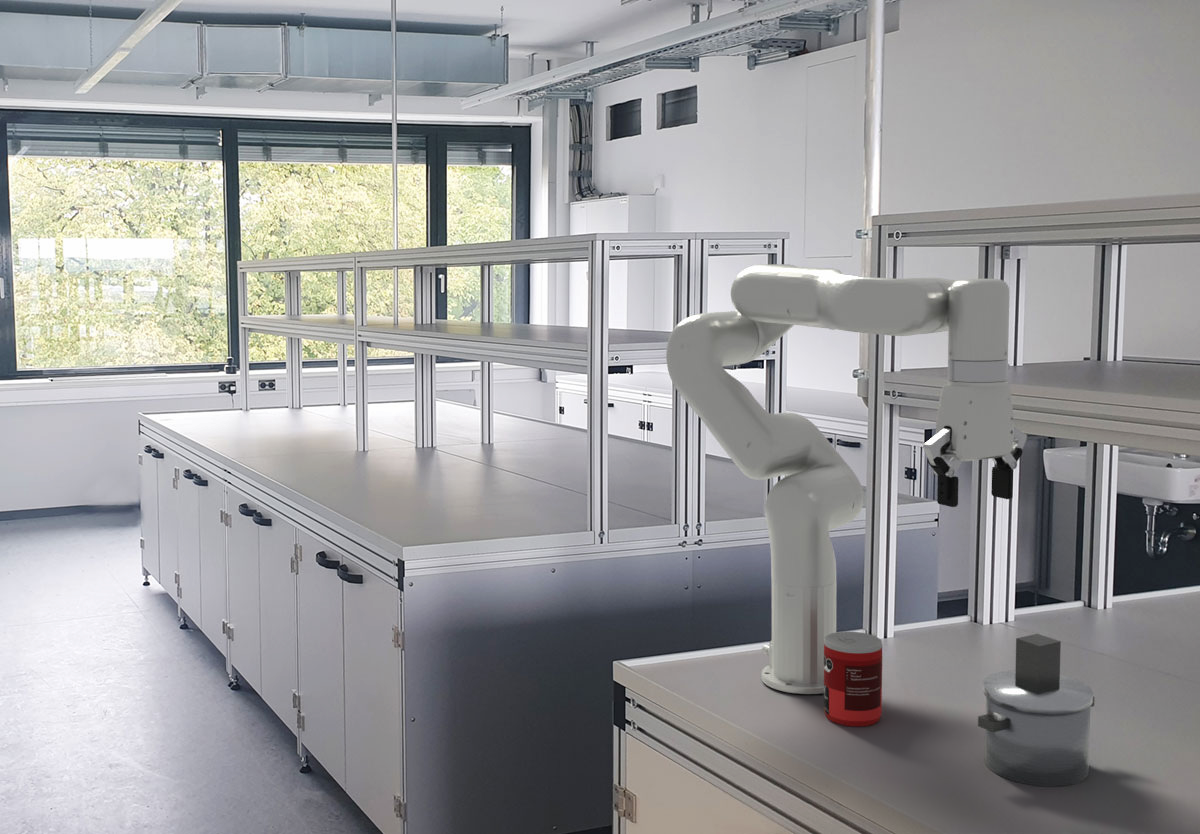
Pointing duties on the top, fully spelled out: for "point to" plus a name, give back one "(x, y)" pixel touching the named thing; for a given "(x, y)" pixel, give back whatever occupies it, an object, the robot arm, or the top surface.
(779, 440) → the robot arm
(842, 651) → the canned food
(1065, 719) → the pot
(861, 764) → the top surface
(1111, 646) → the top surface
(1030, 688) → the lid
